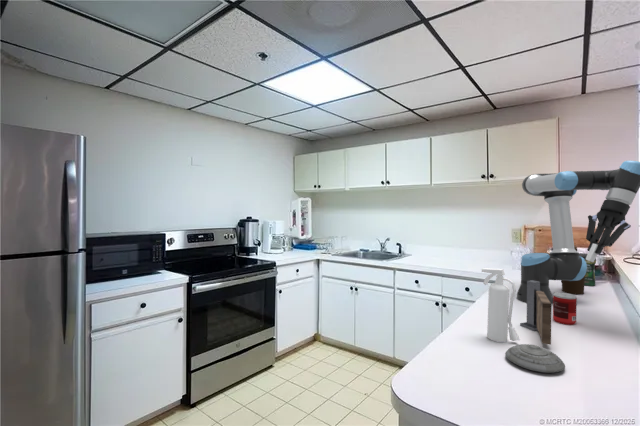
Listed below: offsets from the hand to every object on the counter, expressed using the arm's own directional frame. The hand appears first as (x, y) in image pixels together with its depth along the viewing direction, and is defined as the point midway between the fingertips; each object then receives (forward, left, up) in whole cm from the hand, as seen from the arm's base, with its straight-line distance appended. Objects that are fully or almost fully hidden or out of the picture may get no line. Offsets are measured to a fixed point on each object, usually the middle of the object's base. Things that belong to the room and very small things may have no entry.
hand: (589, 260), depth 122 cm
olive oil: (-21, +62, -27) cm, 71 cm away
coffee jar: (-22, +89, -27) cm, 96 cm away
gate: (-8, -21, -25) cm, 34 cm away
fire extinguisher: (-17, -34, -27) cm, 46 cm away
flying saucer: (-3, -44, -27) cm, 52 cm away
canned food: (-9, +5, -27) cm, 29 cm away
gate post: (-14, -12, -27) cm, 33 cm away
